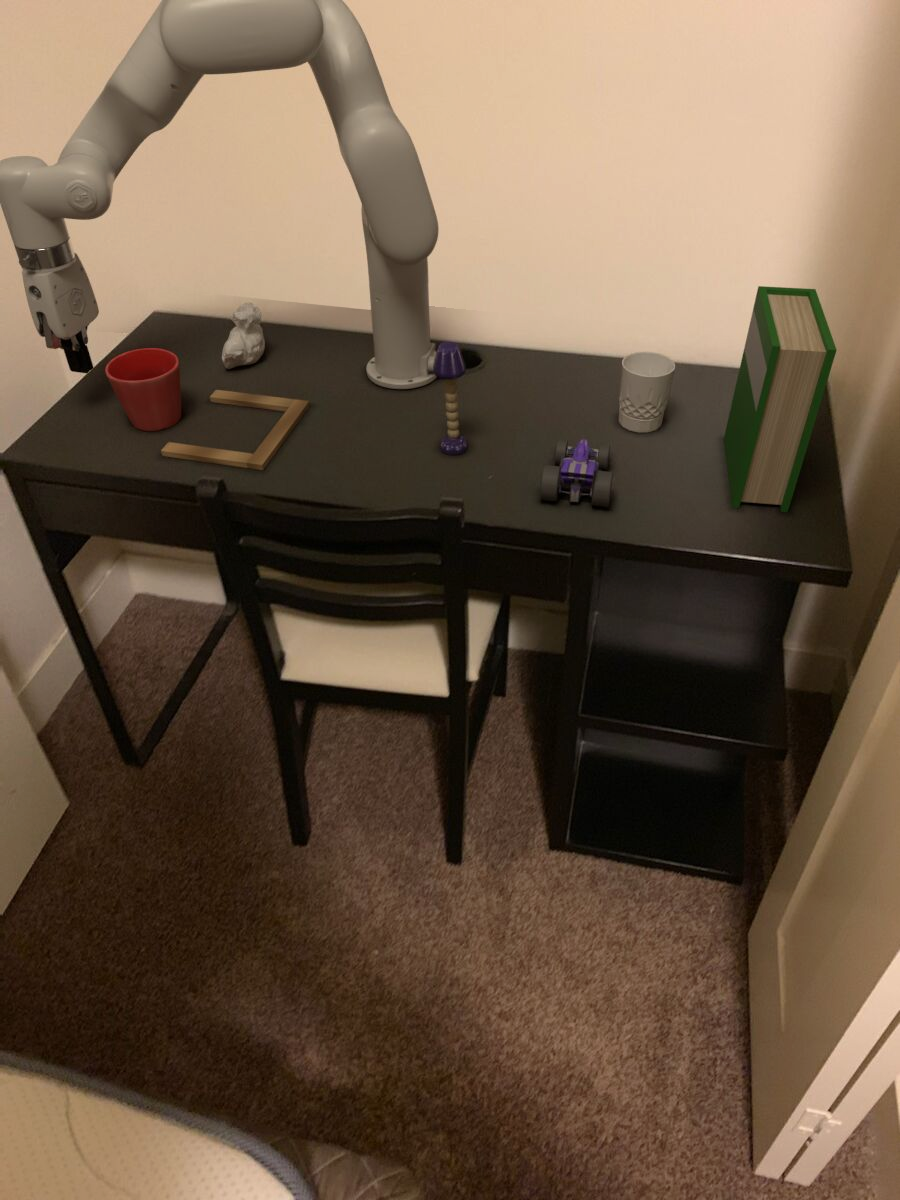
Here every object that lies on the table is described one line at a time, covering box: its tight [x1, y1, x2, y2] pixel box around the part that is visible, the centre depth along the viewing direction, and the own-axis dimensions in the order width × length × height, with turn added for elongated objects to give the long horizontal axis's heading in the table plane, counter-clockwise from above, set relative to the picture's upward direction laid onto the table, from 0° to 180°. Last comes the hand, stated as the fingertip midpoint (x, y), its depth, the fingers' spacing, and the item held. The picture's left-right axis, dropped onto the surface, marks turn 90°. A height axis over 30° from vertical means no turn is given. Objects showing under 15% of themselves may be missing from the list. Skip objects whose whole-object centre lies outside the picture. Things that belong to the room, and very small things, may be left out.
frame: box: [160, 389, 311, 471], centre depth 140 cm, size 16×19×1 cm
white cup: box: [618, 351, 676, 434], centre depth 137 cm, size 8×8×10 cm
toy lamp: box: [434, 341, 469, 456], centre depth 130 cm, size 5×5×17 cm
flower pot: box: [104, 347, 182, 432], centre depth 139 cm, size 11×11×10 cm
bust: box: [221, 301, 266, 370], centre depth 154 cm, size 12×8×11 cm
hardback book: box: [723, 285, 838, 513], centre depth 121 cm, size 18×7×24 cm, turn 171°
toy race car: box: [539, 438, 614, 508], centre depth 126 cm, size 10×15×6 cm, turn 168°
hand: (82, 369), depth 140 cm, fingers closed
